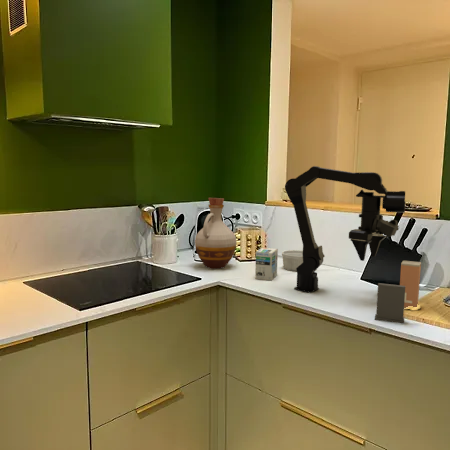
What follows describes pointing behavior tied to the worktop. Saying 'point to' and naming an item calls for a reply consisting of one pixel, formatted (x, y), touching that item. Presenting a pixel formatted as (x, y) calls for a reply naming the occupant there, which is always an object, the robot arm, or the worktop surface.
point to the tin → (410, 282)
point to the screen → (390, 303)
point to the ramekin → (292, 259)
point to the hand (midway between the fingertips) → (368, 258)
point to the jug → (215, 238)
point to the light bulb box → (266, 263)
